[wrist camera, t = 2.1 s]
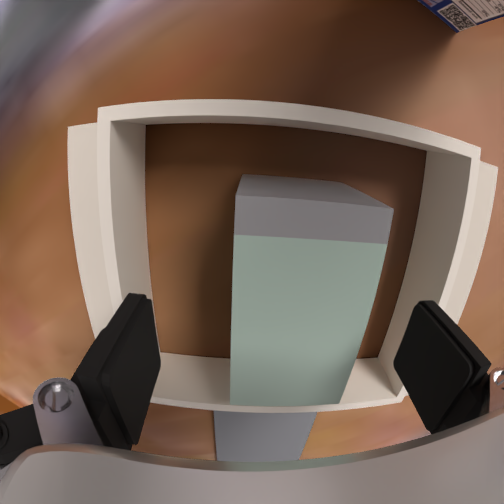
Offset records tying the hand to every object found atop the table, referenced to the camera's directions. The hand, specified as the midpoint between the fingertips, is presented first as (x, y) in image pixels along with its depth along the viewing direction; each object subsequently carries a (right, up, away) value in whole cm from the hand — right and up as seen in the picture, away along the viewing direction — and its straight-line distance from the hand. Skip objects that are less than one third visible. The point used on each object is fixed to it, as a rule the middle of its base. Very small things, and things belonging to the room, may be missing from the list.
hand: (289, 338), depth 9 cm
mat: (0, -13, +12) cm, 17 cm away
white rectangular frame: (+1, +2, +6) cm, 7 cm away
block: (+1, +2, +6) cm, 7 cm away
